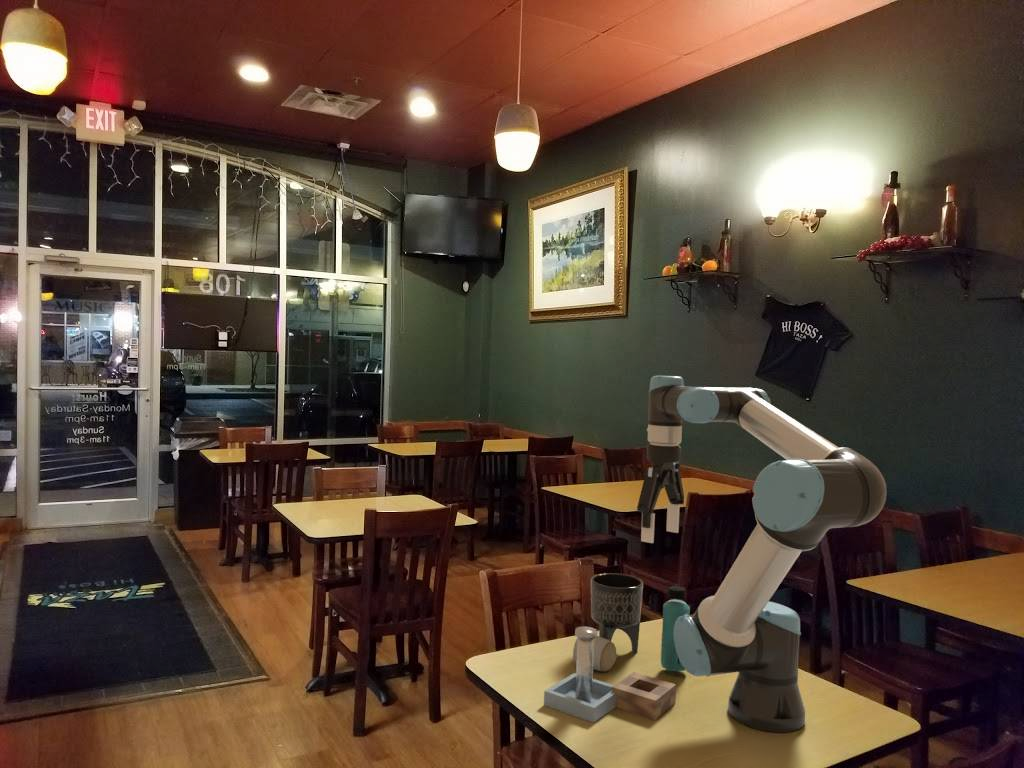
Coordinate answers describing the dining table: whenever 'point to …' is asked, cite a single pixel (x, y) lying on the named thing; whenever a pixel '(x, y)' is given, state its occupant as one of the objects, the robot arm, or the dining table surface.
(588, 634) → the pin
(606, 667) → the ceramic mug
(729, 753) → the dining table surface
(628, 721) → the dining table surface
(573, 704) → the tray
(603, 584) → the planter
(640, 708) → the block
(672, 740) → the dining table surface
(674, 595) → the beverage bottle
